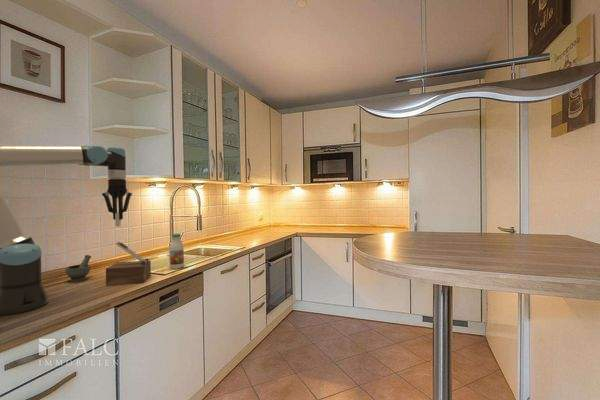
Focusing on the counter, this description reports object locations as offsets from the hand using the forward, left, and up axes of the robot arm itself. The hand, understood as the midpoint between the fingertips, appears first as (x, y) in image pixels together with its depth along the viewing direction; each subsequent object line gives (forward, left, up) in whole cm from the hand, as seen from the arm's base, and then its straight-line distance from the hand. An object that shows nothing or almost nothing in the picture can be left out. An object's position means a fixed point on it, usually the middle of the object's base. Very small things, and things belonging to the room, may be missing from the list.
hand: (118, 226), depth 142 cm
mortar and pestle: (+8, +20, -28) cm, 35 cm away
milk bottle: (+20, -24, -28) cm, 42 cm away
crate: (0, -5, -27) cm, 28 cm away
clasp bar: (0, -5, -14) cm, 15 cm away
